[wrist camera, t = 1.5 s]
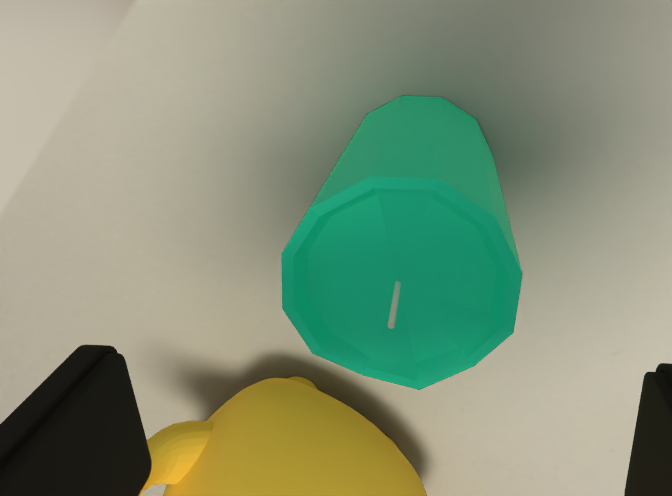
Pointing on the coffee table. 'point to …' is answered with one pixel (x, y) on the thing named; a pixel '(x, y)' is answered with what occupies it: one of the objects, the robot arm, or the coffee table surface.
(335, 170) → the candle
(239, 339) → the coffee table surface
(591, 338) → the coffee table surface
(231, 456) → the teapot
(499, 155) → the coffee table surface
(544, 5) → the coffee table surface
